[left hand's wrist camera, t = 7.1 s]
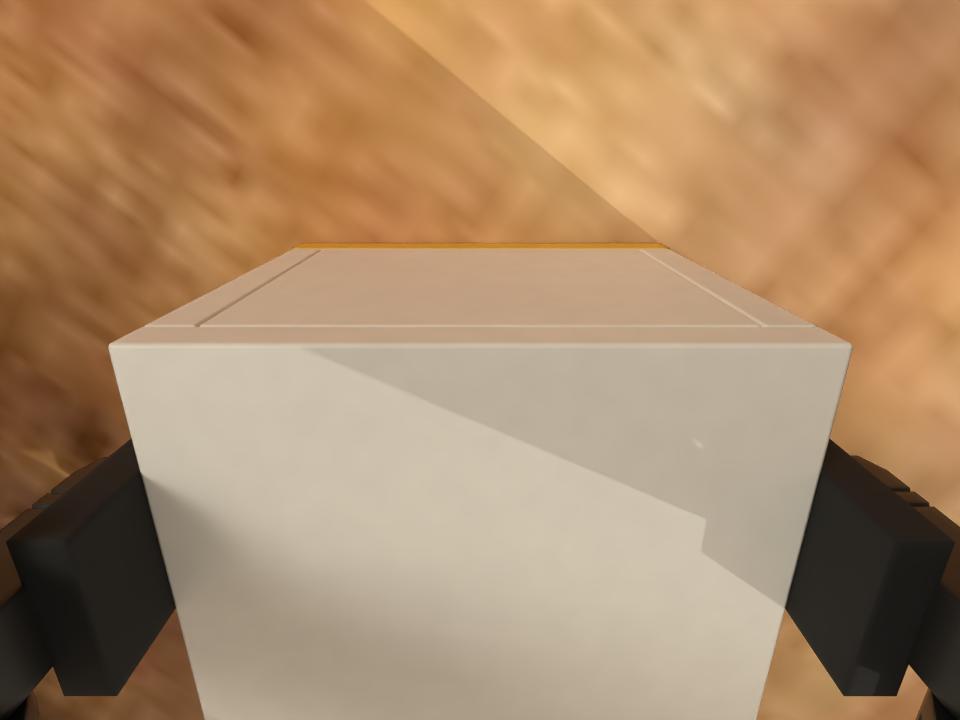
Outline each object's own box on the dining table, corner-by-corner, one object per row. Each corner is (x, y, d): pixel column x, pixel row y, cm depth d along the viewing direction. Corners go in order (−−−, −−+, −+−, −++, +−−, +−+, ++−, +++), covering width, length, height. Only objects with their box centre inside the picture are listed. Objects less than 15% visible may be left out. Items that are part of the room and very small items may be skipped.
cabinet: (615, 624, 21) (703, 930, 13) (345, 624, 21) (257, 930, 13) (660, 243, 16) (858, 343, 8) (300, 243, 16) (103, 343, 8)
